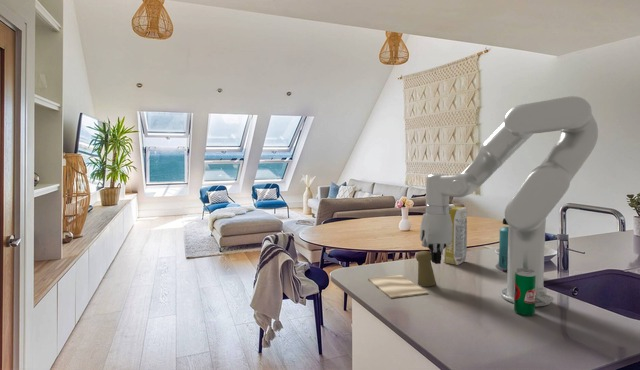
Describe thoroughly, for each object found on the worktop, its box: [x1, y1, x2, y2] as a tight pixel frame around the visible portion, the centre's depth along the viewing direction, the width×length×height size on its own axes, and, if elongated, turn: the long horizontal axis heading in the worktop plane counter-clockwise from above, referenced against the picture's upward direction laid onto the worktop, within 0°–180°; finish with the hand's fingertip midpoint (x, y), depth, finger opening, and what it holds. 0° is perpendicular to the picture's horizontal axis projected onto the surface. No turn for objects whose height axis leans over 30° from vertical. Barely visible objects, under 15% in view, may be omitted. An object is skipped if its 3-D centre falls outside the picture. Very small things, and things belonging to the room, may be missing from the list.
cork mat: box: [367, 274, 429, 299], centre depth 119 cm, size 18×13×1 cm
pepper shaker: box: [415, 250, 437, 287], centre depth 121 cm, size 6×6×11 cm
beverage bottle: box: [498, 217, 509, 270], centre depth 134 cm, size 6×7×20 cm
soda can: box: [513, 268, 536, 317], centre depth 97 cm, size 5×5×12 cm
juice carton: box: [441, 203, 468, 266], centre depth 146 cm, size 9×8×24 cm
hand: (436, 262), depth 122 cm, fingers closed
